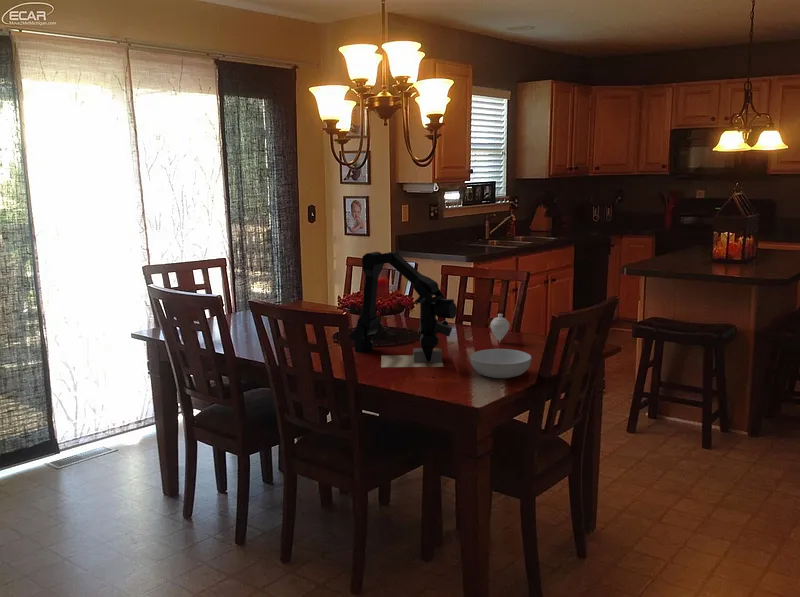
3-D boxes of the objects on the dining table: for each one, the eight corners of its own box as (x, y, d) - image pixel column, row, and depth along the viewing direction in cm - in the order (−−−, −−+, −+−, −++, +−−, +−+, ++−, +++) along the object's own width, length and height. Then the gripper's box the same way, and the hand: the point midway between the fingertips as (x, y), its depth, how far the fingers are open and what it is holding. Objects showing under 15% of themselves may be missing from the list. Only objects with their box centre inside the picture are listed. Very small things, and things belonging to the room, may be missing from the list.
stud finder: (414, 362, 260) (414, 351, 259) (413, 359, 265) (413, 347, 264) (441, 362, 260) (441, 351, 259) (440, 358, 265) (440, 347, 264)
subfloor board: (381, 371, 254) (381, 367, 254) (381, 359, 270) (381, 355, 270) (443, 370, 255) (443, 366, 254) (440, 358, 271) (440, 354, 270)
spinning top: (488, 344, 292) (489, 315, 290) (491, 340, 299) (492, 311, 297) (507, 345, 290) (508, 316, 288) (510, 341, 297) (511, 312, 295)
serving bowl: (493, 363, 264) (493, 345, 263) (542, 374, 249) (543, 355, 248) (457, 375, 249) (457, 356, 248) (507, 388, 235) (507, 367, 234)
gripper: (452, 321, 250) (452, 364, 253) (448, 310, 269) (448, 351, 271) (420, 321, 250) (420, 365, 253) (418, 310, 268) (418, 351, 271)
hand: (428, 358), depth 262 cm, fingers open, 9 cm apart
